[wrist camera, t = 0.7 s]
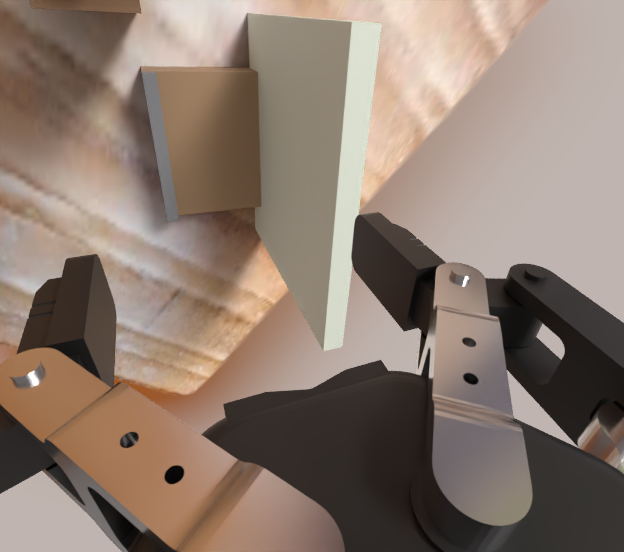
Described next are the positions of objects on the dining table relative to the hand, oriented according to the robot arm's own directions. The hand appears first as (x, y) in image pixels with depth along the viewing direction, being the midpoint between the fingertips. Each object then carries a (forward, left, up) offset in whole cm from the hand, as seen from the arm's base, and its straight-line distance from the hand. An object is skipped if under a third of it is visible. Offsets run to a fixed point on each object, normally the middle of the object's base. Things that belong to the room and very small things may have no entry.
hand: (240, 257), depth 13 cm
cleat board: (+4, +3, -28) cm, 28 cm away
